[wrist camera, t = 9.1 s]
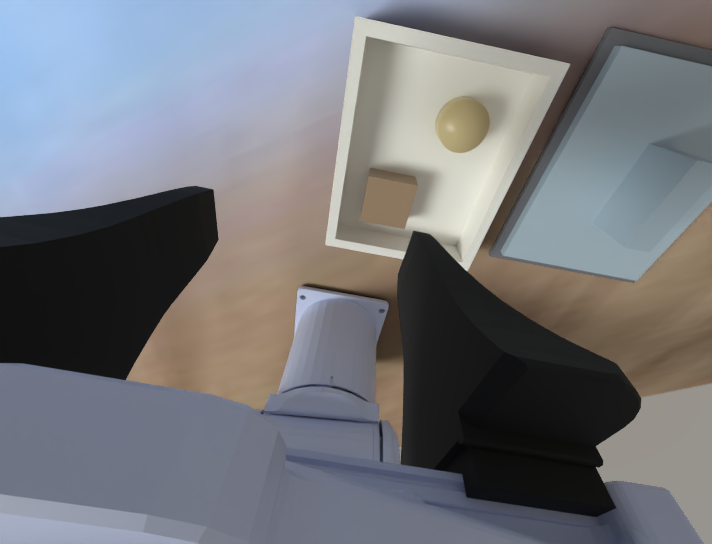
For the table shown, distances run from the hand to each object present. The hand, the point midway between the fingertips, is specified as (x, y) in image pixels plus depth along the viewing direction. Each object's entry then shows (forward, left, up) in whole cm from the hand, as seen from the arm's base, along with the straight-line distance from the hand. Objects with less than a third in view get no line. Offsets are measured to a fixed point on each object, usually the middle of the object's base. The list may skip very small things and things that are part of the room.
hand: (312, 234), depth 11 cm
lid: (+2, -18, -10) cm, 21 cm away
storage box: (+1, -5, -10) cm, 11 cm away
